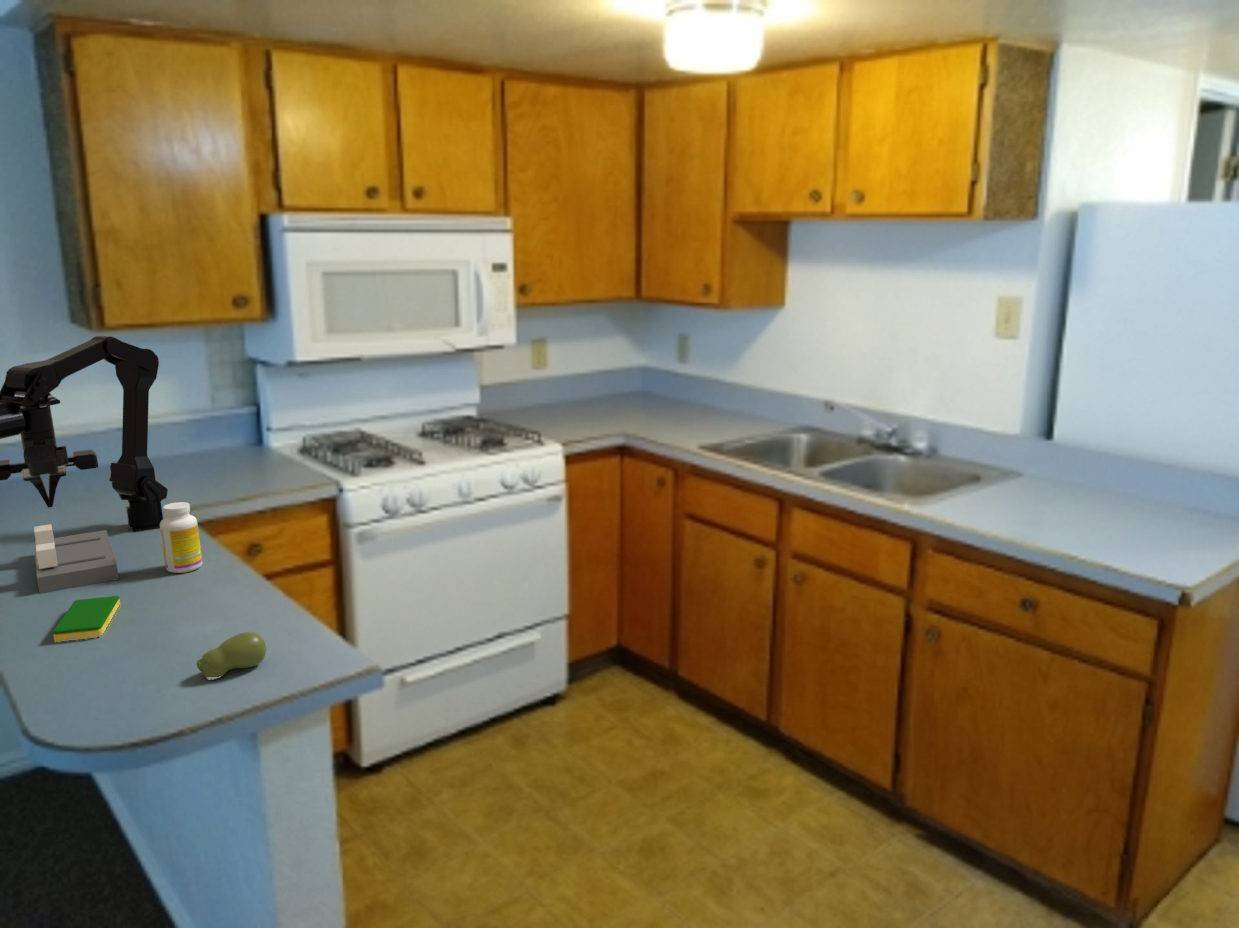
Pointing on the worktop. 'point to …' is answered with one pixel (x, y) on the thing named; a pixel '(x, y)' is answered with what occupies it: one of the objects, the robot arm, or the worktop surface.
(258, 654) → the pear
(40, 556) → the on handle
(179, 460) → the worktop surface
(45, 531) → the cream matte cube
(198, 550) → the supplement bottle
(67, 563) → the grey slider switch panel
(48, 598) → the worktop surface
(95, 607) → the dish sponge
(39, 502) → the worktop surface
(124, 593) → the worktop surface
